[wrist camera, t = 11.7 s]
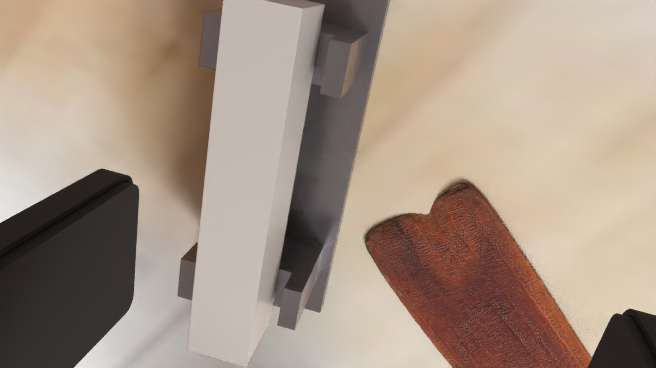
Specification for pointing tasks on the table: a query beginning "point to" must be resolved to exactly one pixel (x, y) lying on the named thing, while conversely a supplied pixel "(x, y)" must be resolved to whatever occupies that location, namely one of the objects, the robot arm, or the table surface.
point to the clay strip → (250, 170)
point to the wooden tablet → (473, 287)
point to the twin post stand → (316, 150)
